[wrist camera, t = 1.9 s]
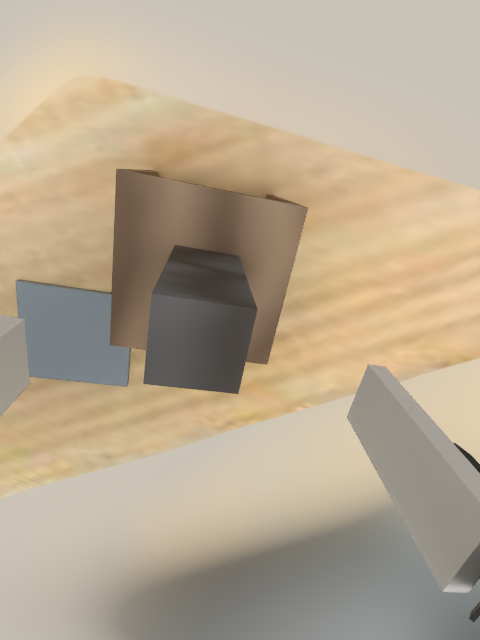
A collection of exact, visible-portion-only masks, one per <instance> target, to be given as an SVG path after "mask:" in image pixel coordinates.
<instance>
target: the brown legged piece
mask: <svg viewBox="0 0 480 640" xmlns="http://www.w3.org/2000/svg"><path fill="white" fill-rule="evenodd" d="M307 210H308V208H307V207H304V206H302V205H299V204H296V203H293V202H290V201H288V200H285V199H282V198H279V197H276V196H273V195H268V194H267V198H266V199H265V198H260V197H255V196H250V195H245V194H241V193H236V192H231V191H226V190H221V189H216V188H211V187H206V186H201V185H196V184H191V183H186V182H181V181H177V180H172V179H167V178H162V177H158V172H156V171H151V170H131V169H116V195H115V221H114V247H113V273H112V298H111V324H110V345H112V346H120V347H128V348H136V349H144V350H146V362H145V373H144V384H150V385H159V386H169V387H178V388H188V389H197V390H207V391H216V392H226V393H235V394H238V392H239V388H240V384H241V379H242V375H243V371H244V366H245V362H251V363H259V364H267V363H268V359H269V355H270V351H271V347H272V344H273V340H274V336H275V332H276V328H277V324H278V321H279V317H280V313H281V309H282V305H283V301H284V298H285V294H286V290H287V286H288V282H289V279H290V275H291V271H292V267H293V263H294V259H295V256H296V252H297V248H298V244H299V240H300V236H301V233H302V229H303V225H304V221H305V217H306V213H307Z"/></svg>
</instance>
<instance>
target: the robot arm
mask: <svg viewBox="0 0 480 640" xmlns="http://www.w3.org/2000/svg"><path fill="white" fill-rule="evenodd" d="M29 383H30V382H29V369H28V356H27V343H26V330H25V319H23V318H15V317H8V316H0V417H1V416H2V415H3V413H4V412H5V411H6V410H7V409H8V408H9V406H10V405H11V404H12V403H13V402H14V401H15V400H16V398H17V397H18V396H19V395H20V394H21V393H22V392H23V390H24V389H25V388H26V387H27V386H28V385H29ZM347 418H348V420H349V422H350V424H351V425H352V427H353V429H354V431H355V433H356V435H357V436H358V438H359V440H360V442H361V444H362V445H363V447H364V449H365V451H366V453H367V455H368V456H369V458H370V460H371V462H372V464H373V466H374V467H375V469H376V471H377V473H378V475H379V477H380V478H381V480H382V482H383V484H384V486H385V488H386V489H387V491H388V493H389V495H390V497H391V498H392V500H393V502H394V504H395V506H396V508H397V509H398V511H399V513H400V515H401V517H402V519H403V520H404V522H405V524H406V526H407V528H408V530H409V531H410V533H411V535H412V537H413V539H414V540H415V542H416V544H417V546H418V548H419V550H420V551H421V553H422V555H423V557H424V559H425V560H426V562H427V564H428V566H429V568H430V570H431V572H432V573H433V575H434V577H435V579H436V581H437V582H438V584H439V586H440V588H441V590H442V591H443V592H469V591H470V590H471V588H472V587H473V586H474V585H475V584H476V582H477V581H478V580H479V579H480V464H479V463H478V462H477V461H476V460H475V459H474V458H473V457H472V456H471V455H470V454H469V453H467V452H466V451H465V450H463V449H462V448H461V447H459V446H458V445H457V444H456V443H452V442H451V440H450V439H449V438H448V437H447V436H446V435H445V434H444V432H443V431H442V430H441V429H440V428H439V427H438V426H437V425H436V423H435V422H434V421H433V420H432V419H431V418H430V417H429V416H428V414H426V412H425V411H424V410H423V409H422V408H421V407H420V405H419V404H418V403H417V402H416V401H415V400H414V399H413V398H412V396H411V395H410V394H409V393H408V392H407V391H406V390H405V388H404V387H403V386H402V385H401V384H400V383H399V382H398V381H397V379H396V378H395V377H394V376H393V375H392V374H391V373H390V371H389V370H388V369H387V368H386V367H384V366H376V365H369V364H368V366H367V369H366V371H365V374H364V376H363V379H362V381H361V384H360V386H359V388H358V391H357V393H356V396H355V398H354V401H353V403H352V406H351V408H350V411H349V413H348V416H347ZM479 616H480V602H479V604H477V606H476V607H475V608H474V609H473V610H472V612H471V614H470V617H469V619H470V620H472V621H473V622H474V621H475V620H476V619H477V618H478V617H479Z"/></svg>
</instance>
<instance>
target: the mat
mask: <svg viewBox="0 0 480 640" xmlns="http://www.w3.org/2000/svg"><path fill="white" fill-rule="evenodd" d="M16 289H17V301H18V313H19V318H23V319H25V330H26V343H27V356H28V369H29V377H38V378H48V379H57V380H67V381H76V382H86V383H96V384H105V385H115V386H125V387H127V385H128V375H129V360H130V348H128V347H120V346H112V345H110V324H111V298H112V293H106V292H99V291H92V290H85V289H79V288H72V287H65V286H58V285H51V284H44V283H37V282H31V281H24V280H17V281H16Z"/></svg>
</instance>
